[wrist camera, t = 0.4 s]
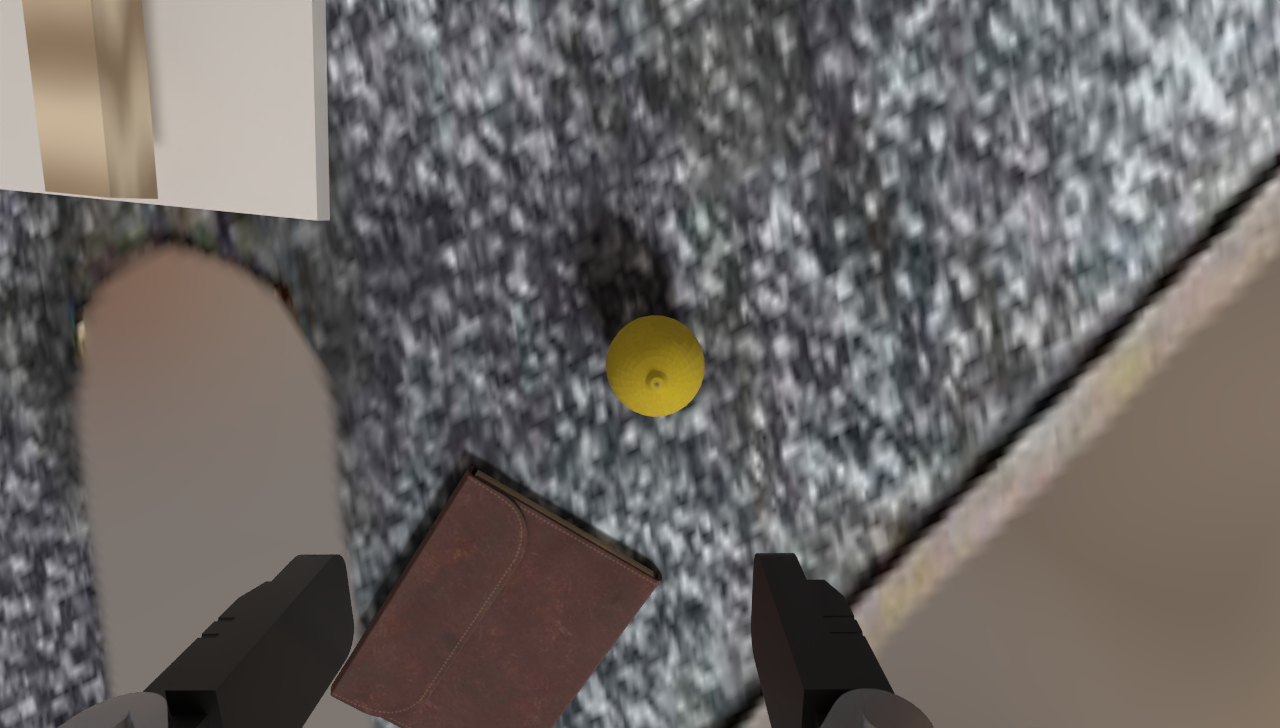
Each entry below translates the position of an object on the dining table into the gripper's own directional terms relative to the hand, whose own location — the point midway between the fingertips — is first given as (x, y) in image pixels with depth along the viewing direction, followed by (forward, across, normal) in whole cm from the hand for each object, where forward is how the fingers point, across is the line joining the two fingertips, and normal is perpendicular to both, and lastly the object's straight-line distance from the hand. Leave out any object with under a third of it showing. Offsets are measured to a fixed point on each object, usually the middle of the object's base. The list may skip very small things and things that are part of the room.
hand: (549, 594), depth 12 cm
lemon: (+28, -3, +2) cm, 28 cm away
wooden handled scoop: (+23, +24, -16) cm, 37 cm away
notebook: (+28, +8, +21) cm, 36 cm away
